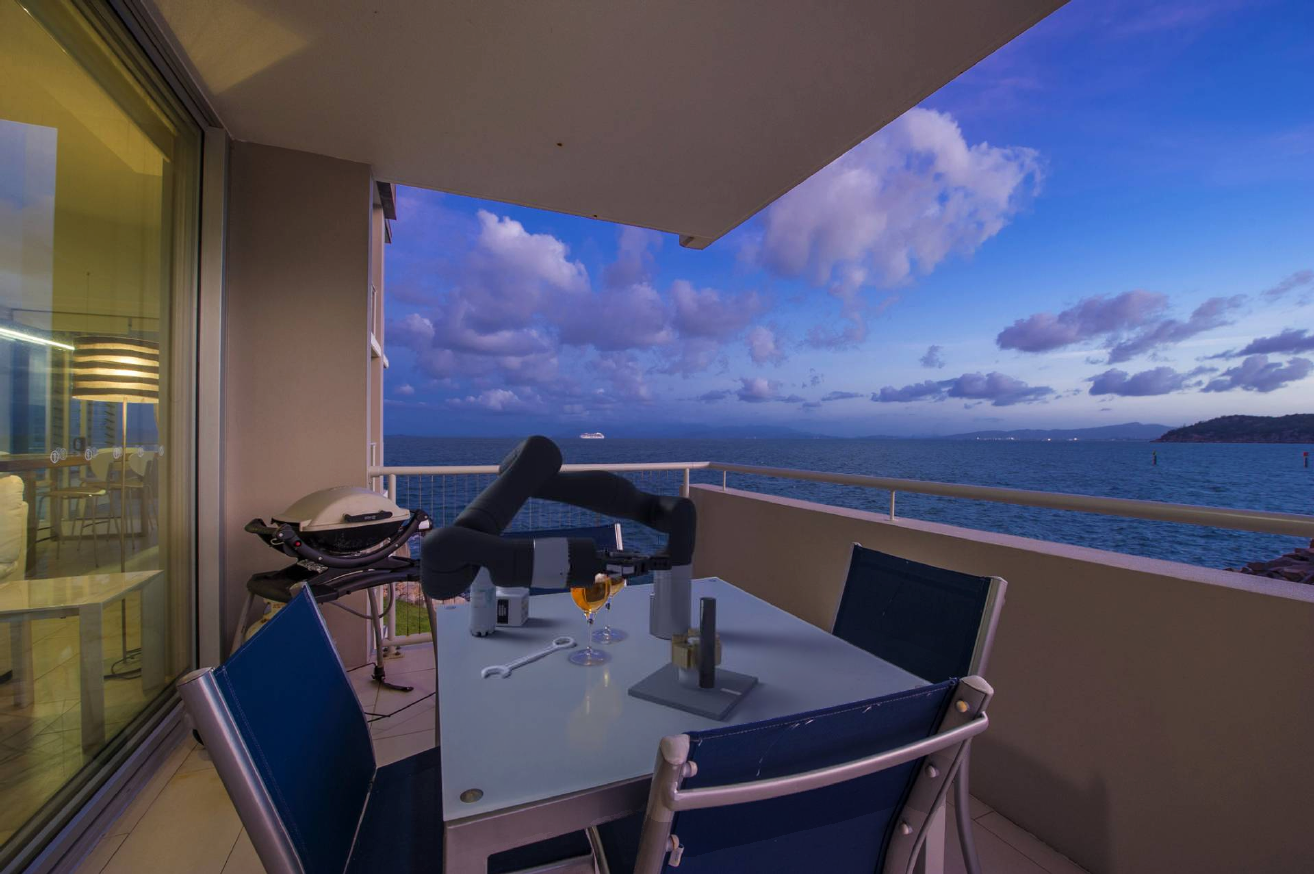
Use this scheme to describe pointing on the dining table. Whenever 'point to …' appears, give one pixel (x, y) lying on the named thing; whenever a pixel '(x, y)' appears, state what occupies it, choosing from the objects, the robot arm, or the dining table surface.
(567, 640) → the wrench
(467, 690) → the dining table surface
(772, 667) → the dining table surface
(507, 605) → the container
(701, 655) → the black bar with brass
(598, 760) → the dining table surface
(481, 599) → the bottle
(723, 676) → the slate plate
